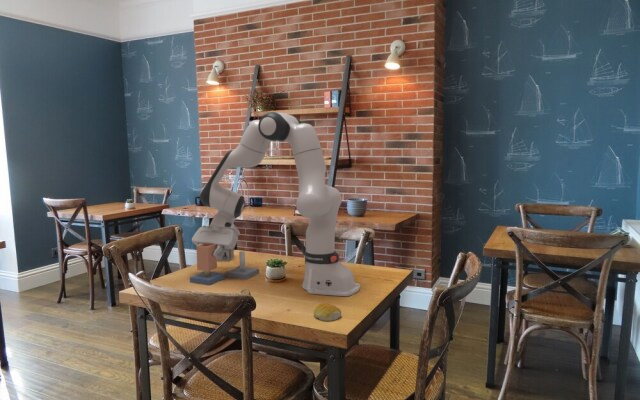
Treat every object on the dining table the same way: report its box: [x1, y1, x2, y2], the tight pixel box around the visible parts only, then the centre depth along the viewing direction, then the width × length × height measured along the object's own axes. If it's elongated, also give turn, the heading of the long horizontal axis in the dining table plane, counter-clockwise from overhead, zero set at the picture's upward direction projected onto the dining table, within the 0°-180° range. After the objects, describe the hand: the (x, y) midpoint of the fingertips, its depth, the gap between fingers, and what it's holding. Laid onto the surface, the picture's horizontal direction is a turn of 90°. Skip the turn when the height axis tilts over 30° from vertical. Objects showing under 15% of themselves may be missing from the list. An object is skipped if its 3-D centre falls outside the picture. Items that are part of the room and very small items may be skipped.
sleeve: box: [195, 243, 218, 272], centre depth 182 cm, size 6×6×10 cm
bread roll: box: [313, 302, 342, 322], centre depth 144 cm, size 8×9×4 cm
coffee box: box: [217, 247, 235, 262], centre depth 216 cm, size 9×6×16 cm
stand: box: [225, 250, 260, 280], centre depth 190 cm, size 10×10×10 cm
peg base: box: [189, 271, 226, 286], centre depth 183 cm, size 10×10×9 cm
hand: (206, 255), depth 182 cm, fingers closed on sleeve, 6 cm apart
